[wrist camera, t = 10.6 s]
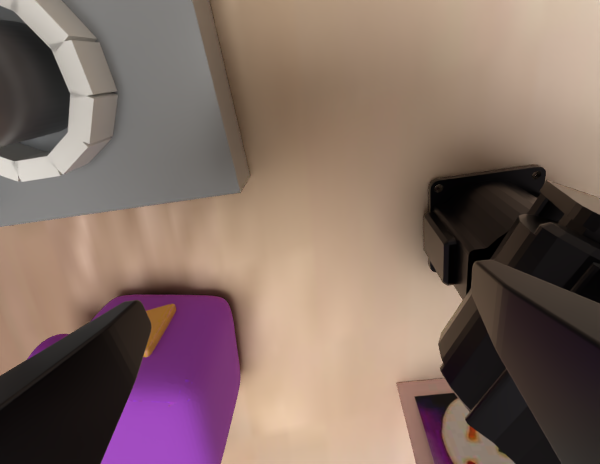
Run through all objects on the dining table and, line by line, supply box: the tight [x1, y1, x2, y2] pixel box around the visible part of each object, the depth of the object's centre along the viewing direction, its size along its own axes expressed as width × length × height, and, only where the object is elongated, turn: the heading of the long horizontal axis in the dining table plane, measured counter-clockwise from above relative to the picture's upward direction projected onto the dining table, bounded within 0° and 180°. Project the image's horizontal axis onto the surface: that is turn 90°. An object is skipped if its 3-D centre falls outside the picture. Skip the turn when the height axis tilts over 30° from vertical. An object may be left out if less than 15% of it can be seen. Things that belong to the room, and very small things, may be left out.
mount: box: [0, 0, 250, 227], centre depth 17 cm, size 18×14×5 cm
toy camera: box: [28, 295, 240, 464], centre depth 23 cm, size 11×14×10 cm
